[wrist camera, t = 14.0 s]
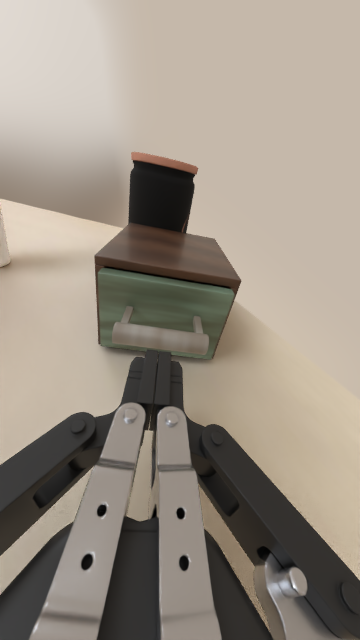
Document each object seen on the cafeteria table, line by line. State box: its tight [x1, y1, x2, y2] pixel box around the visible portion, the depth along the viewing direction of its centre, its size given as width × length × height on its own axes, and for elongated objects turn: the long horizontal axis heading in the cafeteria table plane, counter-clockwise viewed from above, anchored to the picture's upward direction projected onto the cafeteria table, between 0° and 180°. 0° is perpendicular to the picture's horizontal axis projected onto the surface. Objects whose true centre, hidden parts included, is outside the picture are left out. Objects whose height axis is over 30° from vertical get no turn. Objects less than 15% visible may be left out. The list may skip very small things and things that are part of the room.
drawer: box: [98, 268, 235, 360], centre depth 23 cm, size 19×11×8 cm, turn 1°
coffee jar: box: [129, 152, 198, 233], centre depth 38 cm, size 11×11×18 cm
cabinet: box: [95, 223, 241, 358], centre depth 27 cm, size 16×13×10 cm
